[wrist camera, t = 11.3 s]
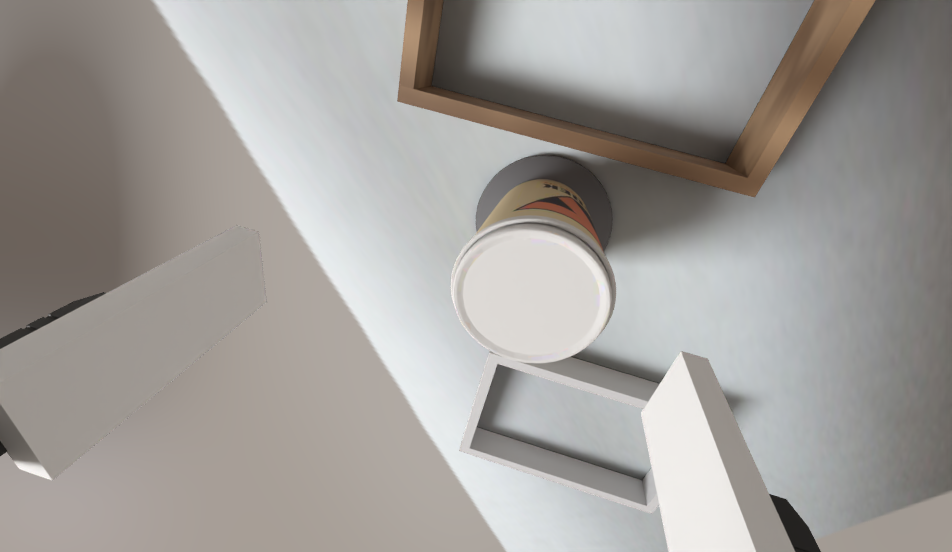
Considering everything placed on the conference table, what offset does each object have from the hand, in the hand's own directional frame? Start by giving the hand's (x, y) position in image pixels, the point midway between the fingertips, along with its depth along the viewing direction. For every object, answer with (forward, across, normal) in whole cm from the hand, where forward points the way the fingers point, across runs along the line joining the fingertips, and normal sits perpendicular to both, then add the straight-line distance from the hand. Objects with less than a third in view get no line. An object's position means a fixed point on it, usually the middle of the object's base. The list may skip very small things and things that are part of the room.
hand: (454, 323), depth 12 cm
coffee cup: (+21, +3, -5) cm, 22 cm away
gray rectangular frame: (+21, +13, -25) cm, 35 cm away
